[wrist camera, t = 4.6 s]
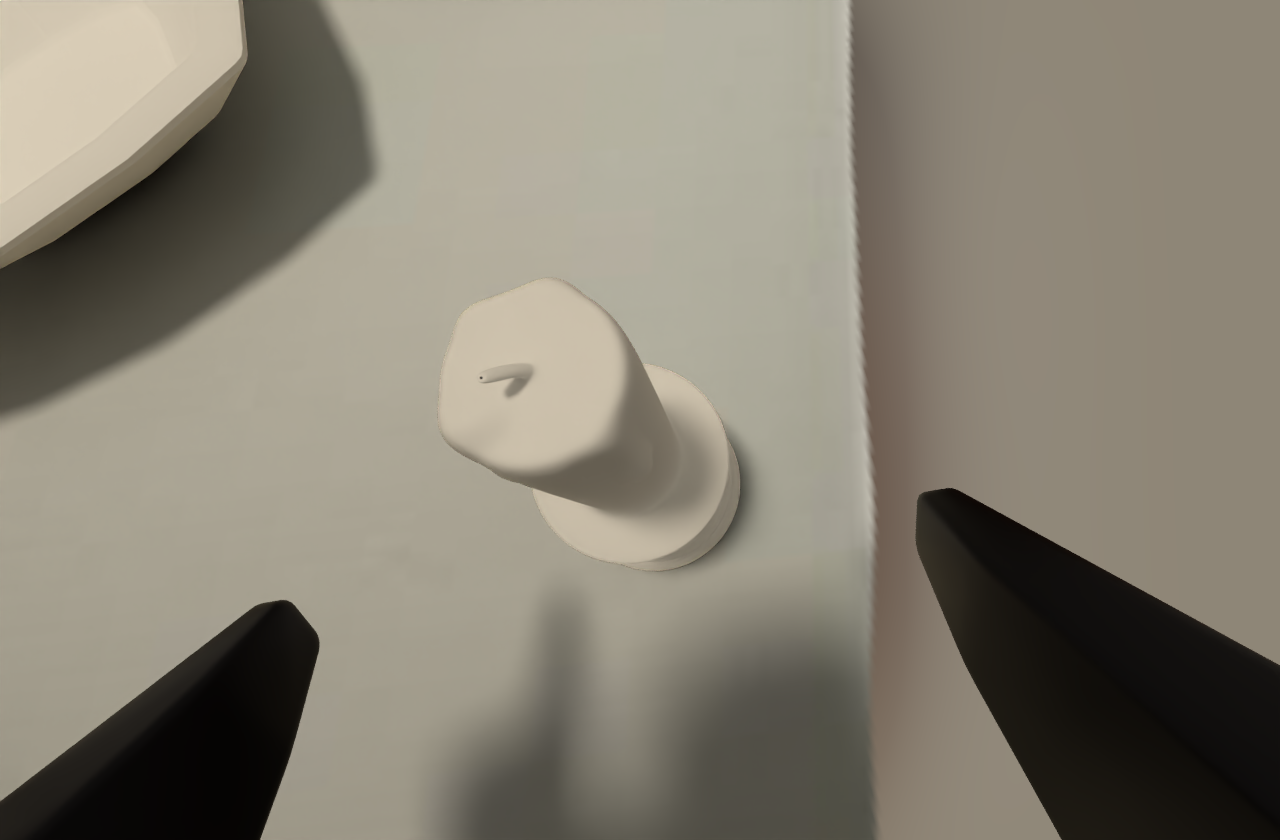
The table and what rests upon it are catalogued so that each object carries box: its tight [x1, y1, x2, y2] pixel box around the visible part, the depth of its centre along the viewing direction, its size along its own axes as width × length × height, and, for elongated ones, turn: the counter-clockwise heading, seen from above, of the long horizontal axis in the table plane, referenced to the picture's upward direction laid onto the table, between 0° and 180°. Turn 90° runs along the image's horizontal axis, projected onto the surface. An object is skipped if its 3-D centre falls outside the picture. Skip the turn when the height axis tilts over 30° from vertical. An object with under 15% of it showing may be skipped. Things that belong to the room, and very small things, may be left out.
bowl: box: [0, 0, 248, 269], centre depth 22 cm, size 22×23×6 cm
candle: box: [438, 278, 740, 571], centre depth 12 cm, size 5×5×12 cm
